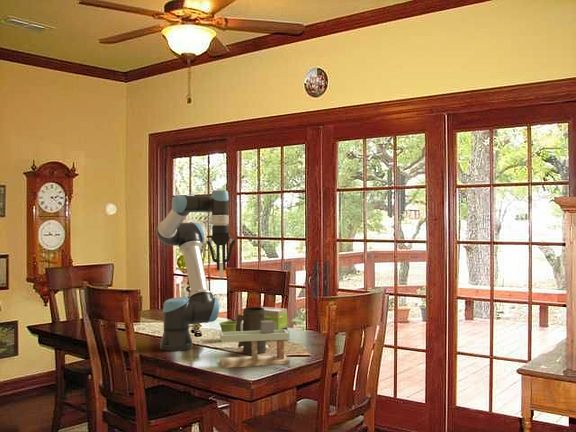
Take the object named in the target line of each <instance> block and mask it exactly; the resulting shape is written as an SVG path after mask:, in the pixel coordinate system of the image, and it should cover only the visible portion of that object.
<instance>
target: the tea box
mask: <svg viewBox="0 0 576 432" xmlns="http://www.w3.org/2000/svg"><path fill="white" fill-rule="evenodd" d="M260 307H261V308H264V310H265V320H272V321H273V322H274V330H286V331H287V332H288V309H287V308H281V307H269V306H260Z"/></svg>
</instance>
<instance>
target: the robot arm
mask: <svg viewBox="0 0 576 432" xmlns="http://www.w3.org/2000/svg"><path fill="white" fill-rule="evenodd" d="M229 200H230V198H229V192H228V190H221V189H220V190H218V189H216V190H215V189H214V190H212V191H211V195H184V194H183V195H182V194H181V195H174V196H173V197H172V201H171V210H170V211H169V212H168V214H167V215H166V217H165V218H164V219H163V220H161V221H160V222H159V223H158V225H157V226H156V231H155V232H156V237H157V238H158V240H159V241H160V242H161V243H163V244H164V245H167V246H169V247H170V246H171V247H172V246H173V247H174V246H176V247H177V246H178V247H179V248H178V249H179V251H180V252H182V253H183V258H184V264H185V269H186V273H187V279H188V283H189V289H190V296H189V297H187V296H177V297H173V298H169V299H166V300H165V301H164V302H163V307H162V308H163V309H162V312H163V333H162V336H161V340H160V343H159V349H160V350H162V351H169V352H172V351H173V352H175V351H176V352H177V351H184V350H190V349H192V348H193V340H192V337H191V333H190V331H189V330H190V329H189V328H190V327H189V326H190V325H196V324H205V323H206V324H208V323H212V322H215V321H217V319H218V317H219V315H220V314H219V313H220V300H219V298H218V297H216V296H215V297H214V295H213V294H214V293H213V292H212V291H211V290H209V285H208V282H207V281H208V280H207V277H206V273H205V266H204V262H203V257H202V253H201V252H202V251H201V248H202V247H203V244H204V243H205V231H204V228H203V226H202V224H200V223H199V222H192V221H190V222H184V220H185V219H186V218H187V216H188V215H189V214H190V213H211V224H212V225H211V237H210V239H208V240H206V244H207V245H208V248H209V251H210V256H211V260H212V262H214V263H216V271H219V273H218V275H219V278H220V279H222V278H224V271H225V270H226V269H227V268H226V263H228V262H230V261H231V254H232V251H233V245H234V244H235V243H236V240H235V239H232V238H231V236H230V226H229V223H230V220H229V219H230V218H229V217H230V214H229V212H230V210H229V206H230V205H229ZM213 243H214V245H215V247H216V248H215V249H216V254H215V253H214V249H213V245H212V244H213ZM228 243H229V247H228V251H227V255H226V245H228ZM220 246H221V247H220ZM220 248H221V249H222V250H221V249H220ZM220 250H221V252H222V253H221V252H220ZM220 253H221V254H222V258H221V257H220V256H221V255H220ZM215 255H216V257H215ZM220 258H221V259H222V261H221V260H220ZM220 261H221V262H220Z"/></svg>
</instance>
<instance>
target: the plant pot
mask: <svg viewBox="0 0 576 432" xmlns="http://www.w3.org/2000/svg"><path fill="white" fill-rule="evenodd" d="M236 323H237V320H236V321H234V320H227V321H220V322H219V325H220V329H221V332H235V331H236Z"/></svg>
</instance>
